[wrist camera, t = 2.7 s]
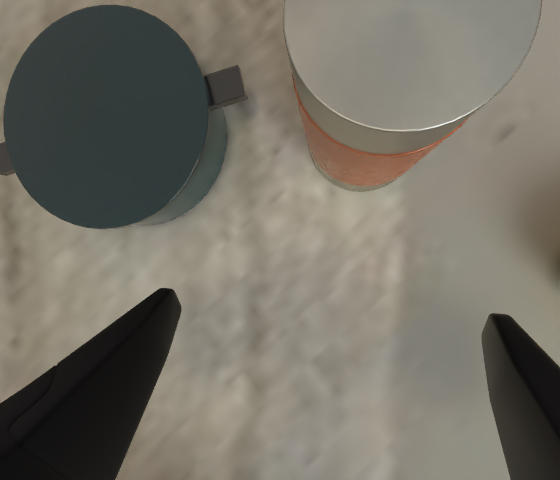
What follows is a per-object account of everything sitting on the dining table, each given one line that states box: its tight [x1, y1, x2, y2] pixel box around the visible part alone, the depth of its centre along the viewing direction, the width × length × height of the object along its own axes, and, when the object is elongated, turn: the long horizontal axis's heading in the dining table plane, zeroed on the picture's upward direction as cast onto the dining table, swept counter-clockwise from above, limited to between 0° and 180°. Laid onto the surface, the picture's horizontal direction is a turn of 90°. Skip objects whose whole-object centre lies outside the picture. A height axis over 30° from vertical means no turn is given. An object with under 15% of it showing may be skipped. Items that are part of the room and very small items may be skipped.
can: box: [283, 0, 542, 191], centre depth 16 cm, size 7×7×13 cm
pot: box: [0, 5, 248, 229], centre depth 22 cm, size 13×16×4 cm
